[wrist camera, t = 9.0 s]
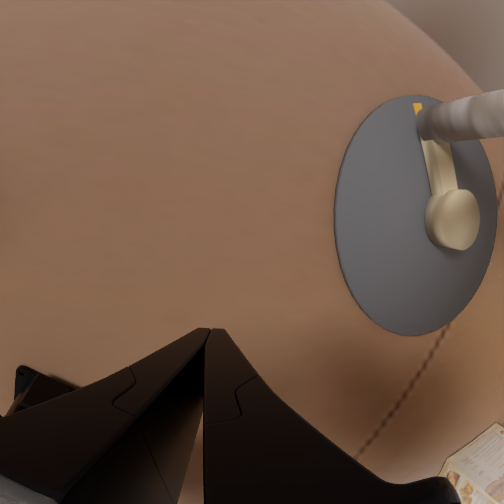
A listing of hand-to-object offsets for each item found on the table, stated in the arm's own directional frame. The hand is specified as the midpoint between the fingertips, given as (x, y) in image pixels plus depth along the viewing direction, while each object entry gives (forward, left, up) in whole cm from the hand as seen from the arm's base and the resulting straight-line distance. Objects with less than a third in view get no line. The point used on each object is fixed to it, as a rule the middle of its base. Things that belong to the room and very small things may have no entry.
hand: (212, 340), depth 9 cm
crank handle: (+15, -15, -10) cm, 24 cm away
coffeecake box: (-15, -55, -12) cm, 59 cm away
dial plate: (+12, -18, -11) cm, 24 cm away
